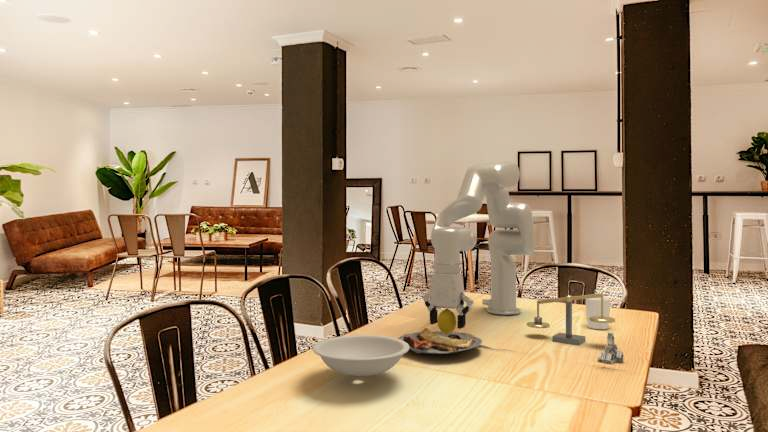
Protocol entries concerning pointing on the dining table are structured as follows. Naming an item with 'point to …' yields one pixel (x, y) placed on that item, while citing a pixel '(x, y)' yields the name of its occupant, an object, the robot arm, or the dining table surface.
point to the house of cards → (611, 352)
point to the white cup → (597, 311)
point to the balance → (569, 319)
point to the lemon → (446, 321)
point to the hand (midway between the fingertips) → (447, 325)
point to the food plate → (440, 342)
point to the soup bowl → (361, 353)
